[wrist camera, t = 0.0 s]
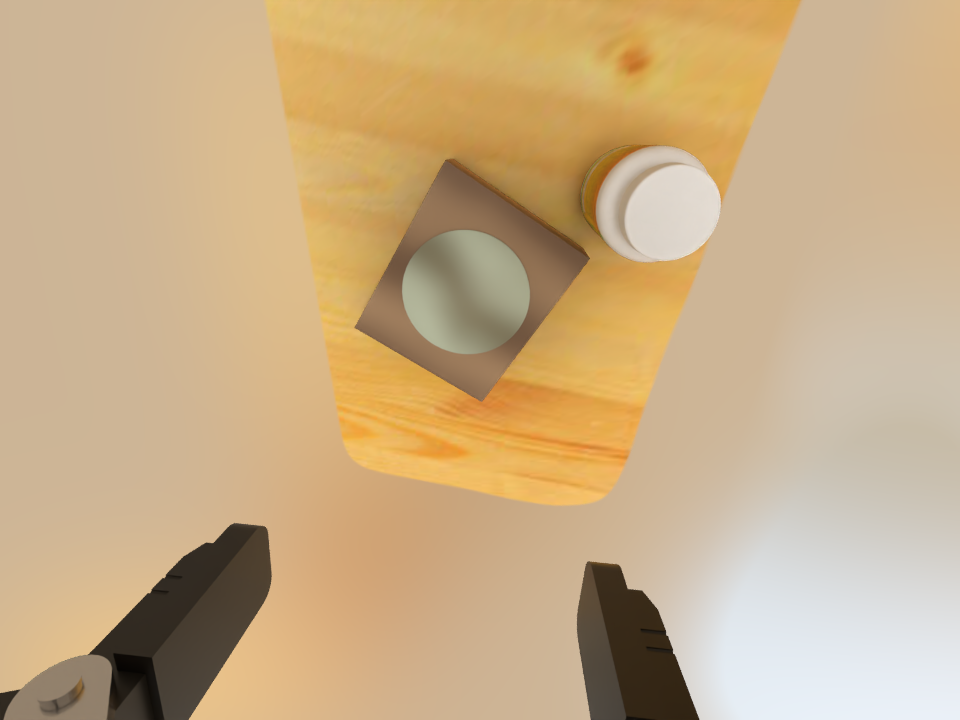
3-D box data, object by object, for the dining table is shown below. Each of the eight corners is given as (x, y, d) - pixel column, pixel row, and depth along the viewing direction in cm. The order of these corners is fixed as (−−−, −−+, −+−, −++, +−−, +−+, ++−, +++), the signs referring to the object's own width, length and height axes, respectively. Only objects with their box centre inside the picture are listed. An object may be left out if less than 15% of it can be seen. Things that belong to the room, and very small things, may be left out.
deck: (452, 158, 28) (444, 160, 25) (583, 248, 29) (590, 259, 26) (368, 312, 32) (353, 328, 30) (484, 381, 34) (481, 403, 31)
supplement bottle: (568, 227, 29) (590, 263, 20) (594, 136, 27) (632, 131, 18) (649, 246, 29) (707, 289, 20) (682, 156, 27) (764, 161, 18)
